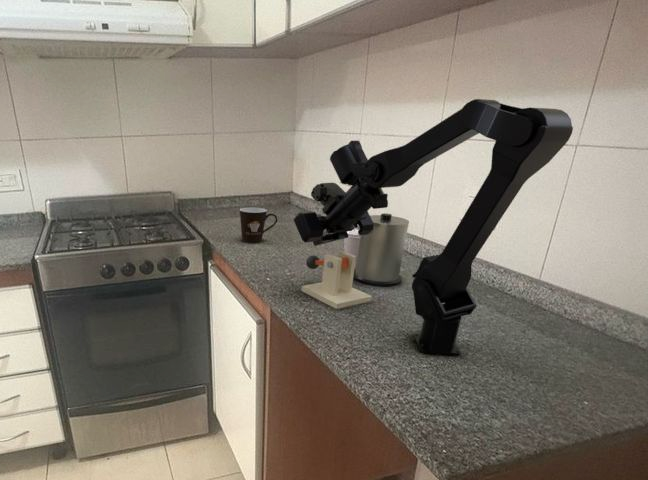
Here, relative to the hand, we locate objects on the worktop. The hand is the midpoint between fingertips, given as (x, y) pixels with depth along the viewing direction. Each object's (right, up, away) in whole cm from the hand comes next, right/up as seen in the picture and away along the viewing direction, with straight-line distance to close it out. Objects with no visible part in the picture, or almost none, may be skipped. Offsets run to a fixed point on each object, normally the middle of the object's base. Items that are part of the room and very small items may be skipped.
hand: (314, 243), depth 102 cm
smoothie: (+14, -4, +18) cm, 23 cm away
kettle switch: (+2, -6, -2) cm, 7 cm away
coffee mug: (-11, +7, +42) cm, 44 cm away
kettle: (+17, -8, +8) cm, 20 cm away
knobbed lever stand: (+4, -12, -3) cm, 13 cm away
